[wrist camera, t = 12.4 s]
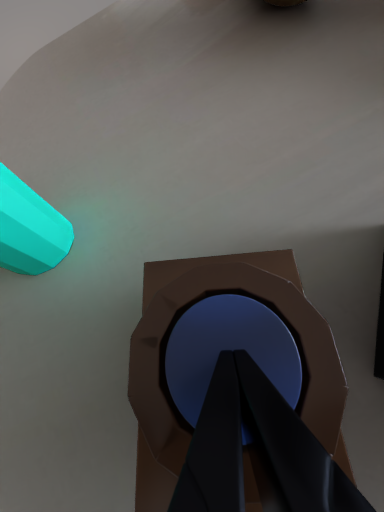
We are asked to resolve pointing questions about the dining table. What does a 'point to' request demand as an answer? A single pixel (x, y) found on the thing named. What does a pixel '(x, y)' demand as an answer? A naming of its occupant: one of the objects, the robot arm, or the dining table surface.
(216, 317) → the blue button
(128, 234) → the dining table surface
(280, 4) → the bowl
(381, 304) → the switch box
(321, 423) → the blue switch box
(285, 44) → the dining table surface
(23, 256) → the candle
